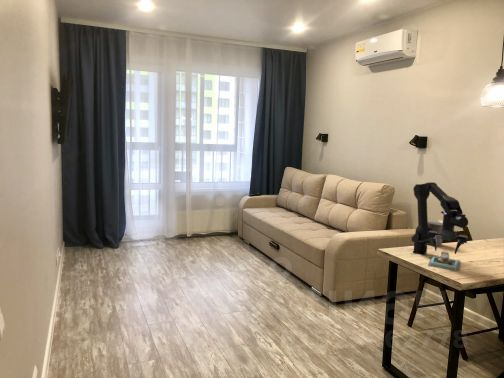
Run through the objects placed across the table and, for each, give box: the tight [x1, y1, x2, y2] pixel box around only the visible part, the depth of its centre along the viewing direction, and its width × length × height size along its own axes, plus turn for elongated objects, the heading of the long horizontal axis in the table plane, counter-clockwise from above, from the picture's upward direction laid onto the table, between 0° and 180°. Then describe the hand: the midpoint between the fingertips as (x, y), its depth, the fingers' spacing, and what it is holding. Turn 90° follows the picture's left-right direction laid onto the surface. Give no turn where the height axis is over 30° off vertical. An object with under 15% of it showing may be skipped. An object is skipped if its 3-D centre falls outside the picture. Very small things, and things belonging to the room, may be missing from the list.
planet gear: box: [436, 251, 452, 265], centre depth 215 cm, size 7×7×6 cm
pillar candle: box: [427, 220, 443, 247], centre depth 254 cm, size 10×10×15 cm
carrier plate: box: [427, 255, 461, 272], centre depth 217 cm, size 14×18×3 cm
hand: (445, 252), depth 215 cm, fingers open, 9 cm apart
